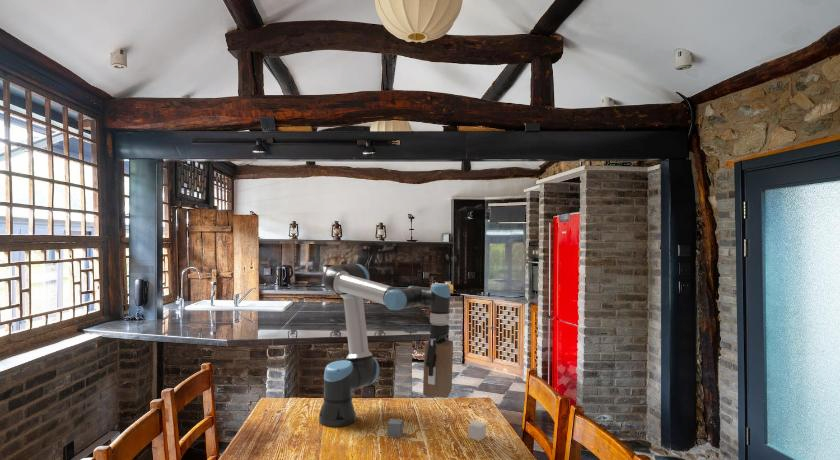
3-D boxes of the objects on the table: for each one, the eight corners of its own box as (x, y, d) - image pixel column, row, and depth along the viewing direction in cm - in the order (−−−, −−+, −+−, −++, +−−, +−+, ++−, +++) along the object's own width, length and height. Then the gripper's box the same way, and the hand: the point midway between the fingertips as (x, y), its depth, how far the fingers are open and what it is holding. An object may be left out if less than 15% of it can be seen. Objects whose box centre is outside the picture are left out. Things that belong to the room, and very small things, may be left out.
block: (448, 398, 182) (450, 345, 182) (422, 396, 184) (424, 343, 184) (451, 390, 192) (453, 340, 192) (427, 388, 194) (428, 338, 194)
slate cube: (387, 436, 186) (387, 423, 186) (390, 431, 191) (390, 418, 191) (399, 437, 185) (399, 424, 185) (402, 432, 190) (402, 419, 190)
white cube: (468, 437, 186) (468, 424, 186) (474, 433, 190) (474, 420, 190) (479, 441, 183) (479, 427, 183) (485, 436, 187) (486, 423, 187)
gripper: (435, 329, 176) (434, 389, 176) (459, 320, 197) (458, 374, 197) (417, 327, 179) (415, 386, 179) (442, 318, 201) (441, 371, 200)
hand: (437, 380), depth 188 cm, fingers closed on block, 11 cm apart
